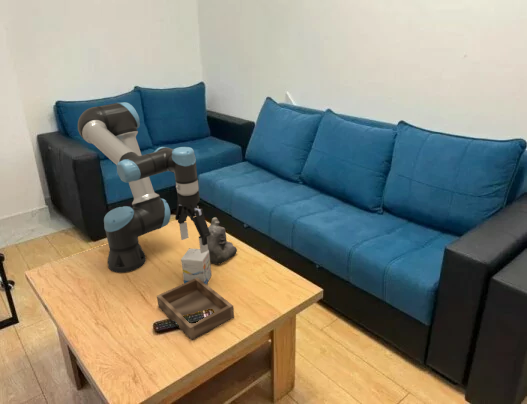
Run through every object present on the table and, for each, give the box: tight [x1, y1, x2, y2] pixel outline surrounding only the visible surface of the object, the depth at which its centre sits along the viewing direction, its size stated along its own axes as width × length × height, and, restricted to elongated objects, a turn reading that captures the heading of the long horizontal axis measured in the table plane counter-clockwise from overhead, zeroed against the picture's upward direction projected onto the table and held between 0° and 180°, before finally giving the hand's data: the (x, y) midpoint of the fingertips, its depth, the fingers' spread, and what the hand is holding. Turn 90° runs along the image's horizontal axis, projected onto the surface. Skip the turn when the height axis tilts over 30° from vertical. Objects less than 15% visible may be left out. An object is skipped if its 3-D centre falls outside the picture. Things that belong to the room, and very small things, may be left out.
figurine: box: [207, 216, 238, 265], centre depth 176 cm, size 13×12×18 cm
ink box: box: [180, 248, 212, 285], centre depth 163 cm, size 9×8×12 cm
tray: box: [156, 278, 235, 342], centre depth 147 cm, size 22×16×5 cm
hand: (194, 245), depth 159 cm, fingers open, 13 cm apart
